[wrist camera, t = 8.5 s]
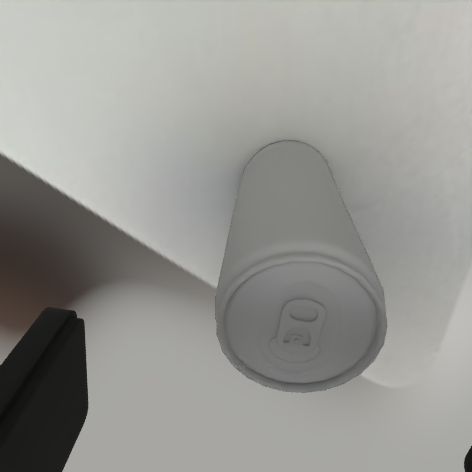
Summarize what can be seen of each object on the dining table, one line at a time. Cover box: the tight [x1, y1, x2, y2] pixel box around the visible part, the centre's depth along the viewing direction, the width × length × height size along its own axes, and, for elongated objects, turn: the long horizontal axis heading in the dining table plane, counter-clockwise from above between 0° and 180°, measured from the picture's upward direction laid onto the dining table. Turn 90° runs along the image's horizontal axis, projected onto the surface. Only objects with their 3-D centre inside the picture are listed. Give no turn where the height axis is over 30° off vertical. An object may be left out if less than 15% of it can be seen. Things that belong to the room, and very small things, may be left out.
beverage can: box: [215, 141, 387, 393], centre depth 16 cm, size 5×5×12 cm
